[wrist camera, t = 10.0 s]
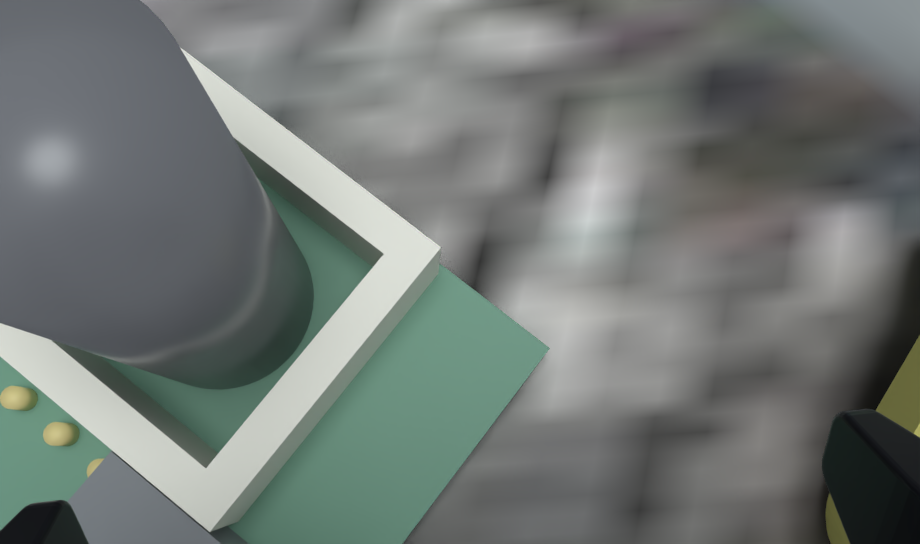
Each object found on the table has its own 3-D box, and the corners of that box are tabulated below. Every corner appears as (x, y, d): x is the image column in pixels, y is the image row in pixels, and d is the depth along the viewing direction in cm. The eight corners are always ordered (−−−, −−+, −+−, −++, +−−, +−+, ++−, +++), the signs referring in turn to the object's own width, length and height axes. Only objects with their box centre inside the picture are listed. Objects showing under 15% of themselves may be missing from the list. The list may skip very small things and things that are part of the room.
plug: (314, 385, 22) (192, 300, 11) (127, 394, 22) (-206, 316, 10) (313, 186, 24) (202, -84, 12) (135, 192, 23) (-153, -78, 12)
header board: (170, 847, 21) (110, 941, 17) (-220, 498, 22) (-364, 507, 18) (543, 353, 24) (568, 332, 20) (182, 74, 26) (136, 2, 21)
